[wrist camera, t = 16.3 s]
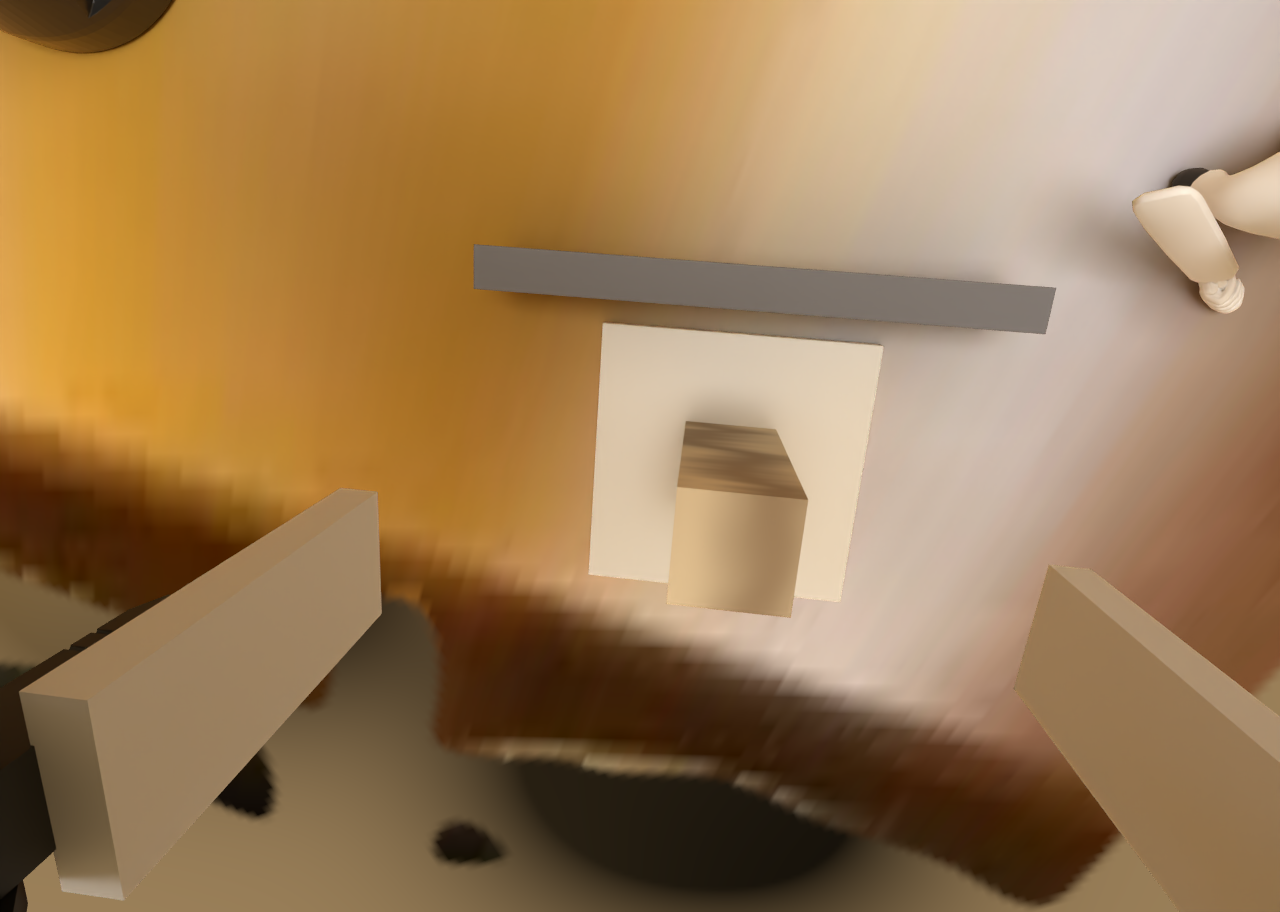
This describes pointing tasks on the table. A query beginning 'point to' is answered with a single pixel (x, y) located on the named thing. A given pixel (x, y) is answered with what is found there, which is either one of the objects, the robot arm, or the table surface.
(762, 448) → the letter block
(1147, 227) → the cricket player figurine
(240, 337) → the table surface
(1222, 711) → the robot arm
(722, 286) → the grey plank
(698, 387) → the mat
